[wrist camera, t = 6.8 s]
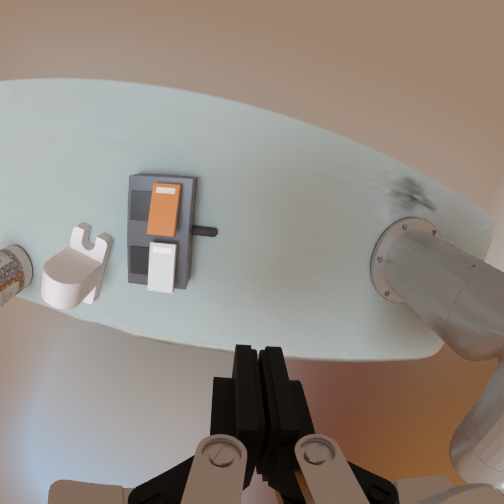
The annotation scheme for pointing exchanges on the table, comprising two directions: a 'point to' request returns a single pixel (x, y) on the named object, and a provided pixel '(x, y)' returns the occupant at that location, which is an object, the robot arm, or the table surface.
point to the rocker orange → (164, 209)
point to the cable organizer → (76, 270)
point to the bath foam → (13, 272)
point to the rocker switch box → (141, 240)
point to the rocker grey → (162, 267)
